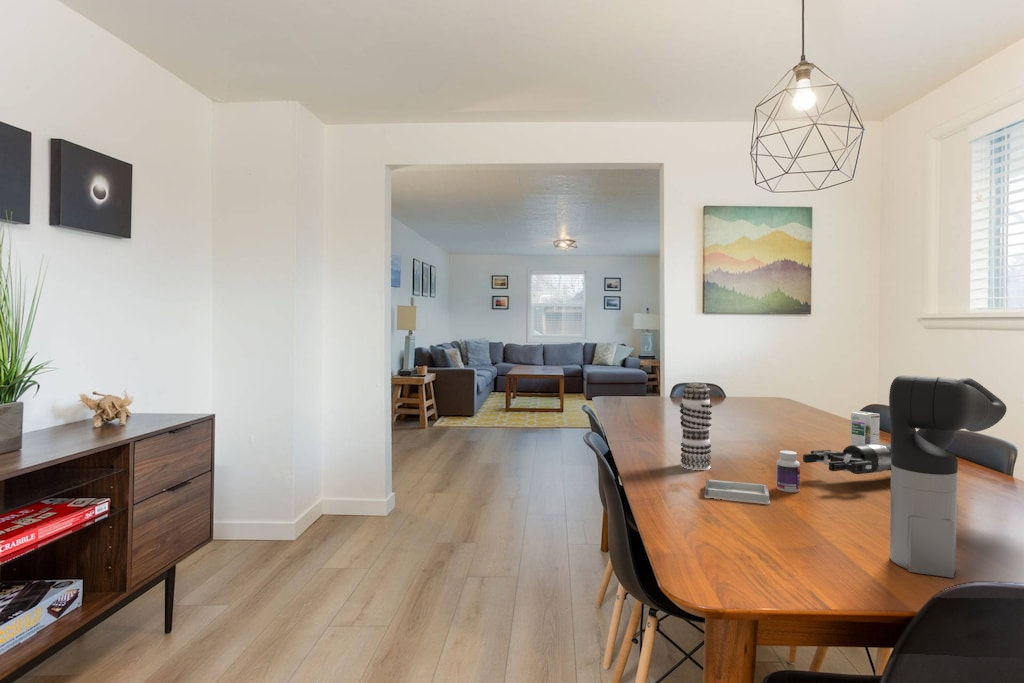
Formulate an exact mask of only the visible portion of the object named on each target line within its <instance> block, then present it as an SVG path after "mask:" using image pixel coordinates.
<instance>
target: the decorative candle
mask: <svg viewBox="0 0 1024 683" xmlns="http://www.w3.org/2000/svg"><path fill="white" fill-rule="evenodd" d="M681 390H682V397H681V403H680V404H679V407H680V410H679V412H680V414H681V415H680V420H681V421H680V423H679V424H680V428H681V429H682V436H681V443H680V445H681V448H680V451H681V453H680V458H681V459H680V462H681V464H680V467H681V466H682V467H684V468H687V469H686V470H688V469H692V470H691V471H694V470H706V471H709V470H711V469H710V468H711V464H712V462H711V459H712V456H711V454H710V453H711V452H712V451H711V449H710V448H711V447H712V444H710V443H711V438H710V430H712V428H711V426H712V424H711V423H710V422H709V421H711V420H712V419H713V417H712V416H711V415H712V411H711V410H710V409H711V408H712V407H713V404H711V402H710V401H711V400H710V390H711V388H709V387H708V386H707V384H706V383H703V382H687V383H686V384H684V386H683V387H682V388H681ZM682 467H681V468H682ZM684 468H683V469H684Z"/></svg>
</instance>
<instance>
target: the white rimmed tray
mask: <svg viewBox="0 0 1024 683" xmlns="http://www.w3.org/2000/svg"><path fill="white" fill-rule="evenodd" d="M704 498H705V499H710V498H714V499H713V500H720V499H722V500H723V501H730V502H731V501H732V502H741V503H750V504H757V505H758V504H760V505H762V504H763V505H768V506H770V505H771V501H770V492H769V489H768V485H767V484H761V483H751V482H750V483H749V482H739V481H729V480H720V479H719V480H716V479H709V478H708V479H707V478H706V480H705V488H704ZM722 500H721V501H722Z"/></svg>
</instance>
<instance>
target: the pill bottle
mask: <svg viewBox="0 0 1024 683" xmlns="http://www.w3.org/2000/svg"><path fill="white" fill-rule="evenodd" d="M797 459H798V453H797V452H796V451H794V450H793V451H792V450H779V459H777V460H776V462H775V465H776V469H775V470H776V474H775V479H776V480H775V482H776V483H775V485H776V490H779V491H780V492H784V493H798V492H800V490H801V465H800V464H801V463H800V462H799V461H798V460H797Z"/></svg>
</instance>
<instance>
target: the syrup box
mask: <svg viewBox="0 0 1024 683" xmlns="http://www.w3.org/2000/svg"><path fill="white" fill-rule="evenodd" d="M880 416H881V415H880V413H875V412H874V413H873V412H868V411H862V410H861V411H860V410H859V411H852V412H851V413H850V445H863V444H880V424H881V423H880V420H881V419H880Z"/></svg>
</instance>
